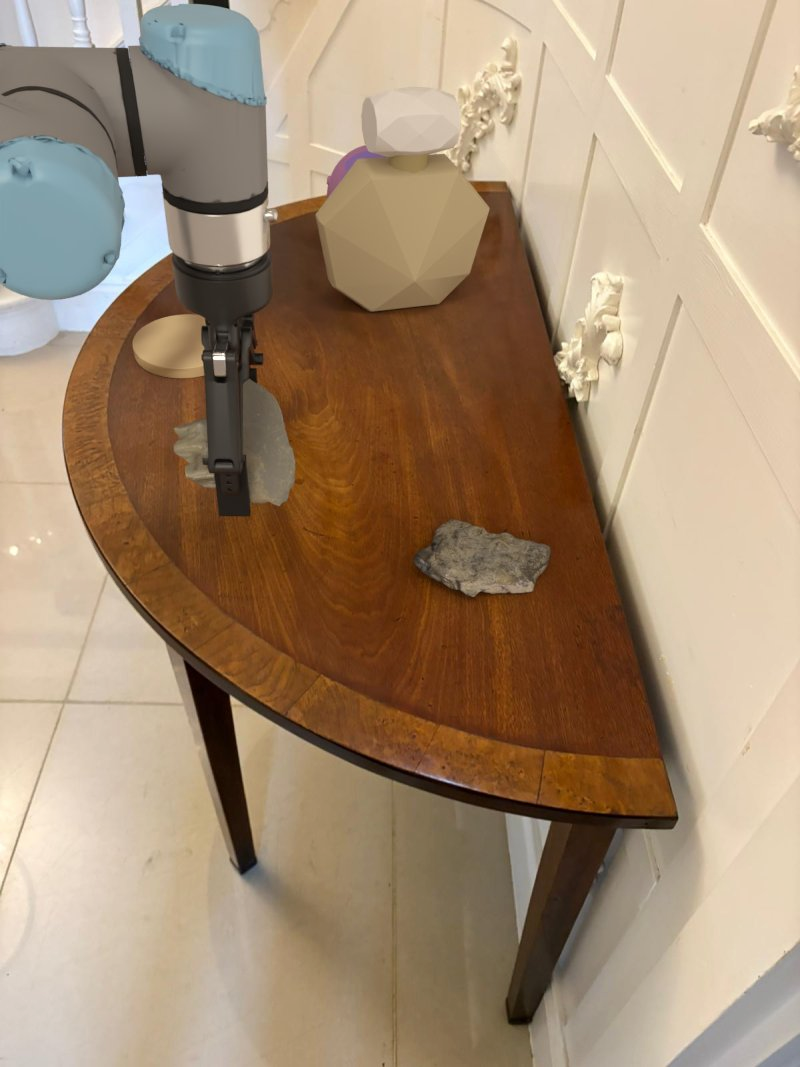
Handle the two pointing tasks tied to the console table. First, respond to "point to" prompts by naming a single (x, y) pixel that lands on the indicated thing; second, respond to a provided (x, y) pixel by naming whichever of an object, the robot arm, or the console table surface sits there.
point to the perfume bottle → (403, 206)
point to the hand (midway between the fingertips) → (241, 466)
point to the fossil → (247, 448)
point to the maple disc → (171, 346)
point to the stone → (482, 560)
